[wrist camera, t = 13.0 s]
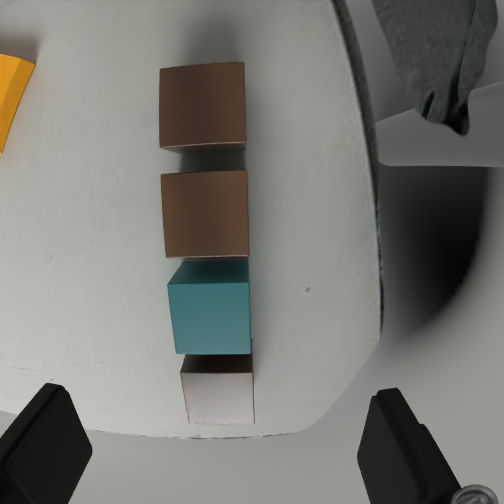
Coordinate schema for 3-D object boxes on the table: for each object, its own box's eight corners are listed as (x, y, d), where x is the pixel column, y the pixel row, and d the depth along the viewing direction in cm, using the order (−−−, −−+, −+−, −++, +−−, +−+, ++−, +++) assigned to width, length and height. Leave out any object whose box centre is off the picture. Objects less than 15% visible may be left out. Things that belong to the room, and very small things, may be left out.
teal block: (248, 260, 22) (249, 282, 18) (250, 321, 23) (251, 354, 19) (182, 262, 22) (166, 283, 18) (187, 322, 23) (176, 354, 19)
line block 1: (244, 83, 20) (244, 61, 15) (246, 149, 21) (246, 142, 16) (176, 88, 20) (159, 68, 15) (177, 153, 21) (159, 148, 16)
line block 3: (251, 337, 24) (252, 372, 19) (253, 386, 25) (254, 424, 20) (190, 338, 24) (179, 372, 19) (197, 386, 25) (189, 423, 20)
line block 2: (247, 170, 21) (246, 169, 16) (249, 239, 22) (249, 256, 18) (178, 174, 21) (160, 174, 16) (181, 241, 22) (165, 258, 18)
